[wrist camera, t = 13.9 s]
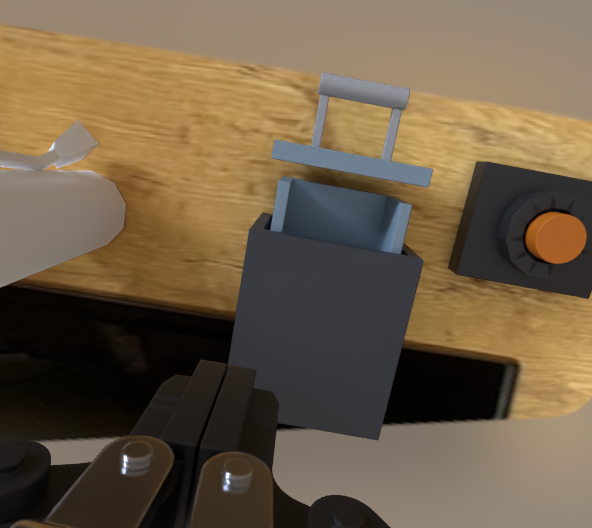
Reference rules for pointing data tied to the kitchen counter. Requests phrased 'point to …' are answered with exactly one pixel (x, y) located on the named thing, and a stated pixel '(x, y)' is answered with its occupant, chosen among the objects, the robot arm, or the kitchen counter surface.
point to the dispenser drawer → (344, 201)
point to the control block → (520, 229)
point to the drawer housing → (323, 327)
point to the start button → (555, 237)
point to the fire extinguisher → (54, 207)
